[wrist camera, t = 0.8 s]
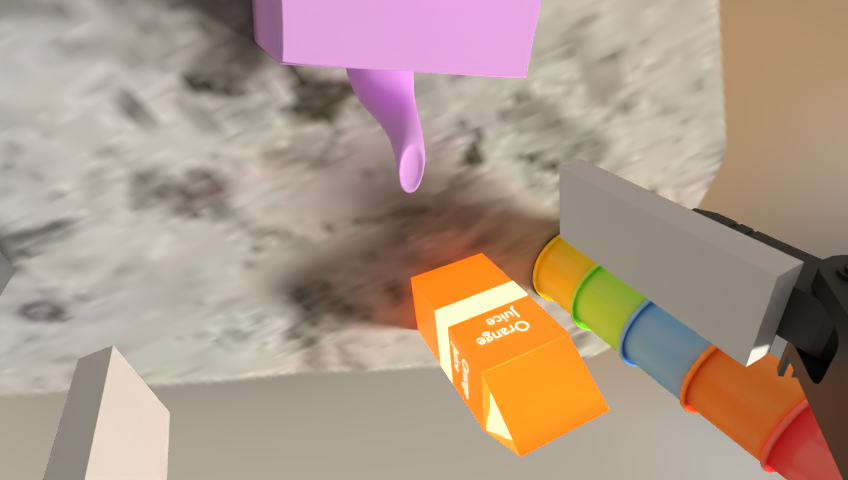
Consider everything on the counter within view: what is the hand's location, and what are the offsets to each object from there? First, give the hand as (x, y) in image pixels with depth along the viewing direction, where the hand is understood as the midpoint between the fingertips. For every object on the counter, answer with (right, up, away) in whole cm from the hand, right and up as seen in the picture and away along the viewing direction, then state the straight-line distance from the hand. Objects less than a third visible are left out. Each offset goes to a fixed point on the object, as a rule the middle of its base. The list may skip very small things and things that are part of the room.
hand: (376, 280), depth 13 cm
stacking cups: (+19, -2, +44) cm, 48 cm away
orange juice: (+4, -5, +38) cm, 38 cm away
